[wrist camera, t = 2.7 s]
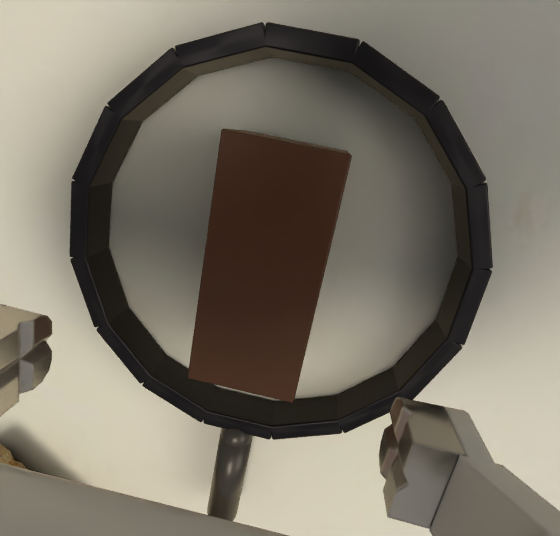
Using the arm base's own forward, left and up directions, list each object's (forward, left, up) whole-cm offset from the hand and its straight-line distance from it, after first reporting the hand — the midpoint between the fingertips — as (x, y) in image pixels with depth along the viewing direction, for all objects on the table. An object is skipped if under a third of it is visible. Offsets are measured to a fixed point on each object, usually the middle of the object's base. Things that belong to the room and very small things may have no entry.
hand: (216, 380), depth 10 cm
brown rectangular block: (0, 0, -10) cm, 10 cm away
